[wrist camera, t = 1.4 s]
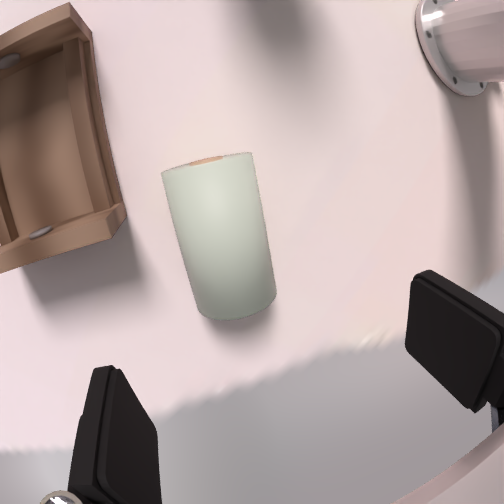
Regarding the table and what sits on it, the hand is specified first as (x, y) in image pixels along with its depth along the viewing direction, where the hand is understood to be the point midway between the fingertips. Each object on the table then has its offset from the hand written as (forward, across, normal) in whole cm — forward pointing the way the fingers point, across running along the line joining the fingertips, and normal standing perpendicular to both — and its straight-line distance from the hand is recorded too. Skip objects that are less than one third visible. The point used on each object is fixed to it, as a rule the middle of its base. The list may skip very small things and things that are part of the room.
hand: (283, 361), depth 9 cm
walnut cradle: (+17, +12, -10) cm, 23 cm away
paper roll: (+14, 0, 0) cm, 14 cm away
